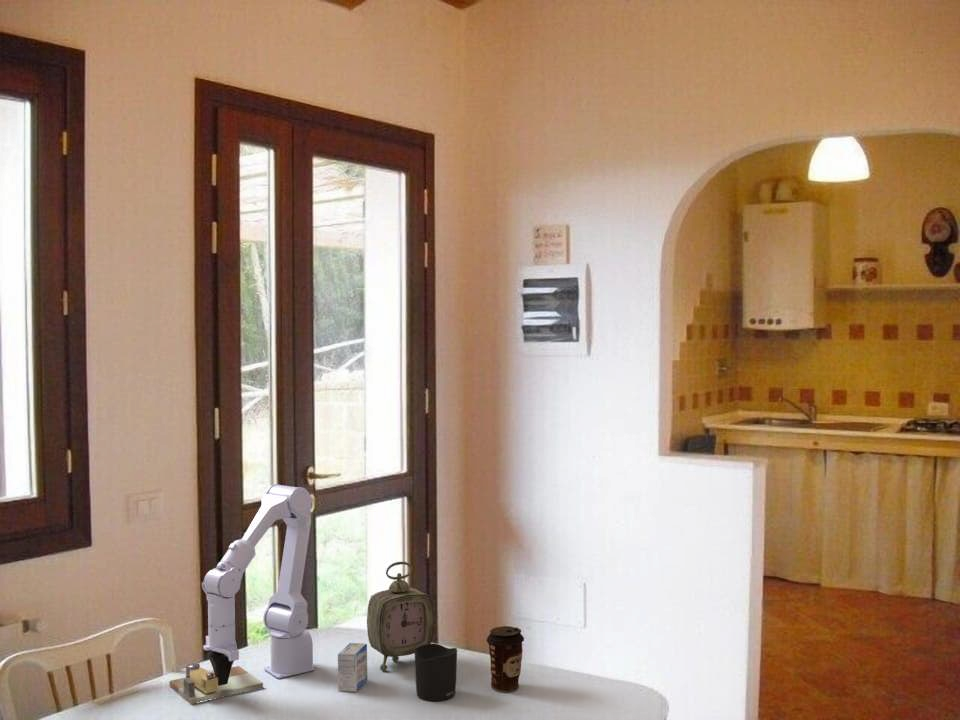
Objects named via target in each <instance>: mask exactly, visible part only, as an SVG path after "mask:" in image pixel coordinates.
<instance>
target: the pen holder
mask: <svg viewBox="0 0 960 720" xmlns="http://www.w3.org/2000/svg"><path fill="white" fill-rule="evenodd" d="M457 662H458V648H456V647H452V648H451V647H450V648H449V647H446V646H443V645H441V644H438V643H431V644H425V645H421V646H419V647H417V648H416V649H415V653H414V667H415V668H414V669H415V689H416V691H415V692H416V696H417V697H418V698H419V699H420V700H423V701H425V702H444V701H448V700H451V699H452V698H454V696H455V695H456V691H457V690H456V689H457V665H458V664H457Z"/></svg>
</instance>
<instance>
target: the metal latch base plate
mask: <svg viewBox="0 0 960 720" xmlns="http://www.w3.org/2000/svg"><path fill="white" fill-rule="evenodd" d="M209 672H210V673H214V670H213V671H209ZM214 675H215V674H214ZM169 687H170V688H171V689H172V690H173V691H175V692H176V693H177V694H178V696H180V697H182V698H183V699H184V700H185V701H186V702H187V701H188V702H189V705H191V704H193V705H195V704H194V703H197V702H200V701H205V700H209V699H214V700H216V699H215V698H219V699H221V698H220V697H223V696H224V697H223V698H226V697H225V696H227V697H230V696H229V695H231V696H234V695H235V694H236V695H239V693H240V694H242V692H244V693H247V692H246V691H248V692H251V691H252V690H253V691H256V690H255V689H257V690H261V689H264V683H263V681H261V680H259V679H258V678H257V677H256V676H254V675H253V674H251V673H249V672H248V671H246V670H245V669H244V668H242V667H241V666H240V665H237V666H232V667H231V671H230V675H229V679H228V683H227V684H225V685H220V686H218V690H217V691H213V692H209V693H205V692H203V691H202V690H200V689H199V688H197V687H196V686H195V682H194V681H192V680H191V679H190V678H186V676H185V677H182V678H177V679H173V680H169ZM260 688H261V689H260ZM253 691H252V692H253ZM233 694H234V695H233ZM188 702H187V703H188ZM197 704H198V703H197Z"/></svg>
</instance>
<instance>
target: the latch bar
mask: <svg viewBox="0 0 960 720" xmlns="http://www.w3.org/2000/svg"><path fill="white" fill-rule="evenodd" d="M200 666H201V664H200V663H196V662H195V663H189V664H186V666H185V677H186V678H190V679H191V680H192V681H194V682H195V686H196V687H197V688H199V689H200V690H202V691H203V692H205V693H209V692H213V691H217V690H218V677H216V676H215V675H214V673H210V672H211V671H208V670H206V669H205V668H203V667H200Z"/></svg>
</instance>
